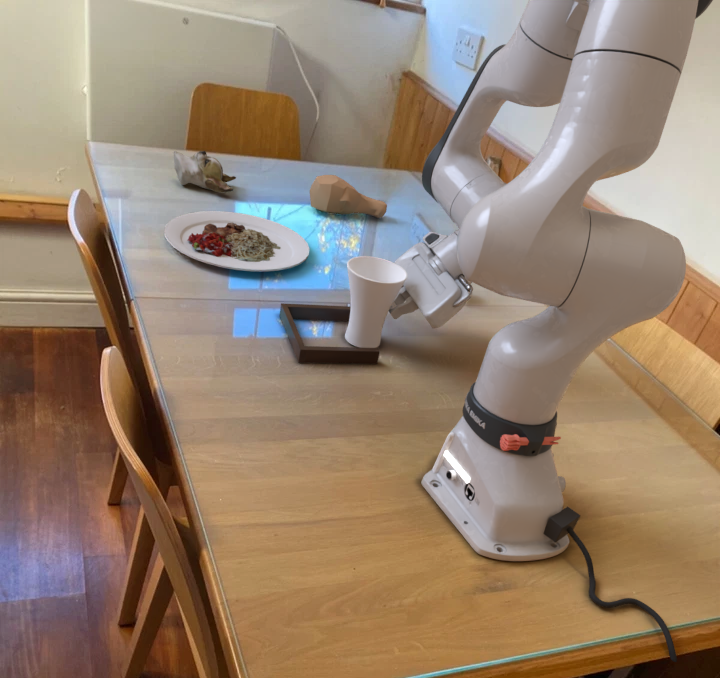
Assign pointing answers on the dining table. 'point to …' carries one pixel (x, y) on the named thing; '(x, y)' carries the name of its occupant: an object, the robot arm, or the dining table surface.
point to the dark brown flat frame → (316, 352)
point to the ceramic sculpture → (201, 171)
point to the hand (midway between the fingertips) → (389, 313)
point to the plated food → (236, 241)
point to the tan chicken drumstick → (342, 198)
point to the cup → (371, 297)
